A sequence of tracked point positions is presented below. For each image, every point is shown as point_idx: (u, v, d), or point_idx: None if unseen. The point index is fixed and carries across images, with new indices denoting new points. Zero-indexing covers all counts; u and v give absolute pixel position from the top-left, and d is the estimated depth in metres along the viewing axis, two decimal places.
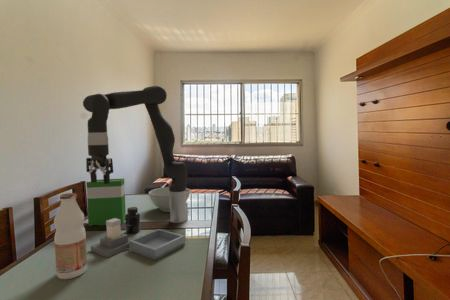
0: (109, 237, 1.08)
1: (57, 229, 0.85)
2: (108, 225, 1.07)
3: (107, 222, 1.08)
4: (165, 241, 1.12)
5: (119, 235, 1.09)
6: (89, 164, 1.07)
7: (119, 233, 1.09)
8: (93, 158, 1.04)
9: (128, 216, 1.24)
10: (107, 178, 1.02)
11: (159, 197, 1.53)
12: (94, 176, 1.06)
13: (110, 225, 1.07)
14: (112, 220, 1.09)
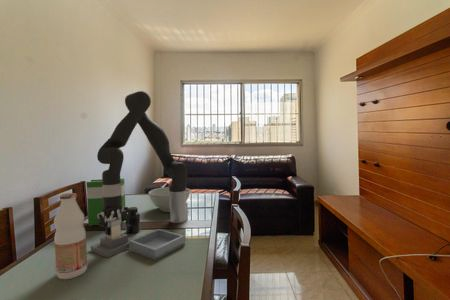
0: (109, 237, 1.08)
1: (57, 229, 0.85)
2: None
3: None
4: (165, 241, 1.12)
5: (119, 235, 1.09)
6: None
7: (119, 233, 1.09)
8: (109, 209, 1.06)
9: (128, 216, 1.24)
10: None
11: (159, 197, 1.53)
12: None
13: (110, 225, 1.07)
14: (112, 220, 1.09)
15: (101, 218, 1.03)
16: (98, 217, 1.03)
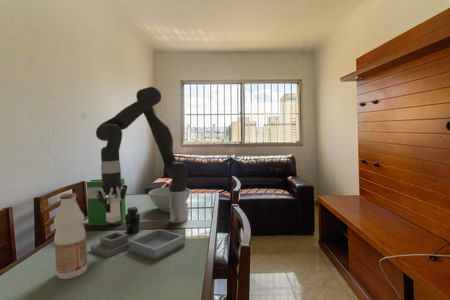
0: (108, 214, 1.07)
1: (57, 229, 0.85)
2: None
3: None
4: (165, 241, 1.12)
5: (118, 213, 1.09)
6: None
7: (118, 211, 1.09)
8: (108, 186, 1.06)
9: (128, 216, 1.24)
10: None
11: (159, 197, 1.53)
12: None
13: (109, 202, 1.06)
14: (111, 197, 1.08)
15: (100, 194, 1.03)
16: (97, 193, 1.03)
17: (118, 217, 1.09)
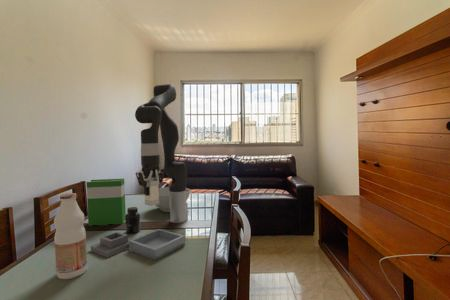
0: (147, 197, 1.06)
1: (57, 229, 0.85)
2: None
3: None
4: (165, 241, 1.12)
5: (157, 196, 1.08)
6: None
7: (157, 194, 1.08)
8: (148, 168, 1.05)
9: (128, 216, 1.24)
10: None
11: (159, 197, 1.53)
12: None
13: (149, 185, 1.05)
14: None
15: (141, 176, 1.02)
16: (138, 175, 1.02)
17: (157, 200, 1.08)
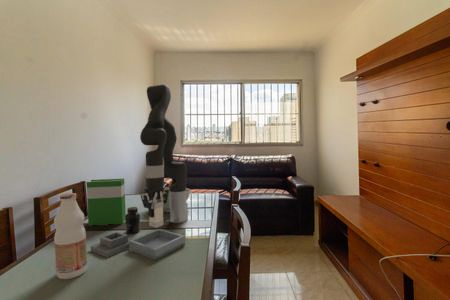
0: (152, 219, 1.07)
1: (57, 229, 0.85)
2: None
3: None
4: (165, 241, 1.12)
5: (161, 217, 1.08)
6: None
7: (161, 215, 1.08)
8: (153, 190, 1.05)
9: (128, 216, 1.24)
10: None
11: None
12: None
13: None
14: (155, 202, 1.08)
15: (146, 199, 1.02)
16: (143, 198, 1.02)
17: (161, 222, 1.08)
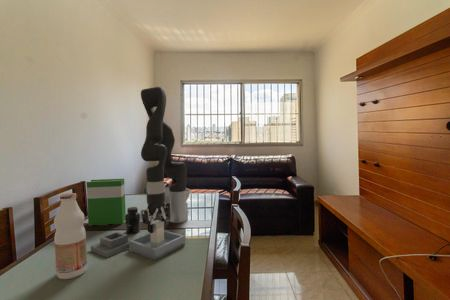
0: (153, 239, 1.07)
1: (57, 229, 0.85)
2: None
3: None
4: (165, 241, 1.12)
5: (162, 237, 1.09)
6: None
7: (162, 235, 1.09)
8: (154, 206, 1.06)
9: (128, 216, 1.24)
10: None
11: None
12: None
13: (154, 227, 1.06)
14: (156, 222, 1.08)
15: (146, 214, 1.02)
16: (143, 213, 1.02)
17: (162, 242, 1.08)
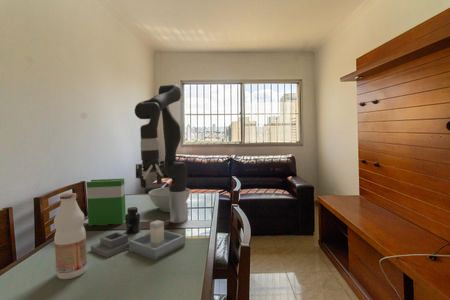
0: (153, 239, 1.07)
1: (57, 229, 0.85)
2: (152, 227, 1.07)
3: (151, 224, 1.07)
4: (165, 241, 1.12)
5: (162, 237, 1.09)
6: None
7: (162, 235, 1.09)
8: (148, 163, 1.08)
9: (128, 216, 1.24)
10: None
11: (159, 197, 1.53)
12: None
13: (154, 227, 1.06)
14: (156, 222, 1.08)
15: (140, 168, 1.05)
16: (137, 166, 1.05)
17: (162, 242, 1.08)
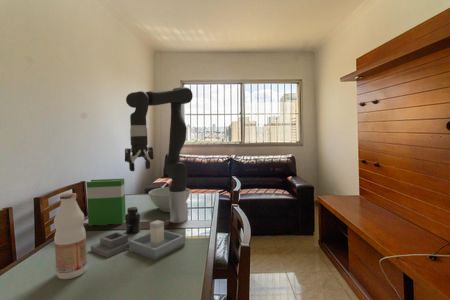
0: (153, 239, 1.07)
1: (57, 229, 0.85)
2: (152, 227, 1.07)
3: (151, 224, 1.07)
4: (165, 241, 1.12)
5: (162, 237, 1.09)
6: None
7: (162, 235, 1.09)
8: (137, 148, 1.16)
9: (128, 216, 1.24)
10: None
11: (159, 197, 1.53)
12: None
13: (154, 227, 1.06)
14: (156, 222, 1.08)
15: (129, 152, 1.12)
16: (126, 151, 1.13)
17: (162, 242, 1.08)
